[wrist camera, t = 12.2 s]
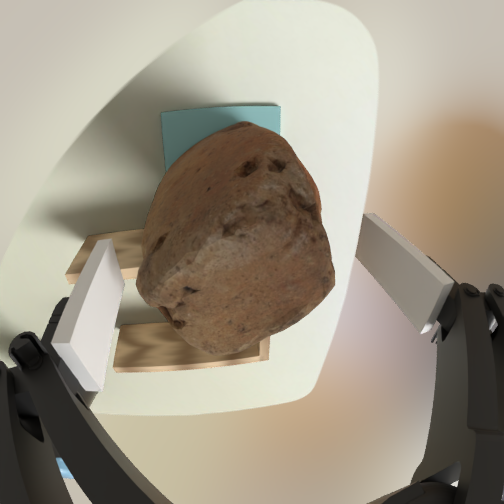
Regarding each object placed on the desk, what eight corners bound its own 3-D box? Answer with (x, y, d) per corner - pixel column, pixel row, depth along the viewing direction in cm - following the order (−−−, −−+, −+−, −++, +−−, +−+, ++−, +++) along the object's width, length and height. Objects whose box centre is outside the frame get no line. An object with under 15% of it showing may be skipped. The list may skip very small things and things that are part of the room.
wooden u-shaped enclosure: (123, 330, 38) (115, 372, 31) (88, 235, 29) (65, 274, 22) (256, 318, 41) (268, 359, 34) (257, 217, 32) (274, 253, 26)
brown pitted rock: (202, 219, 30) (216, 378, 14) (157, 170, 27) (100, 301, 10) (282, 162, 29) (396, 268, 12) (242, 105, 25) (335, 125, 8)
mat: (172, 218, 30) (172, 221, 30) (161, 112, 24) (160, 112, 23) (276, 209, 32) (277, 211, 32) (278, 106, 26) (280, 106, 25)
